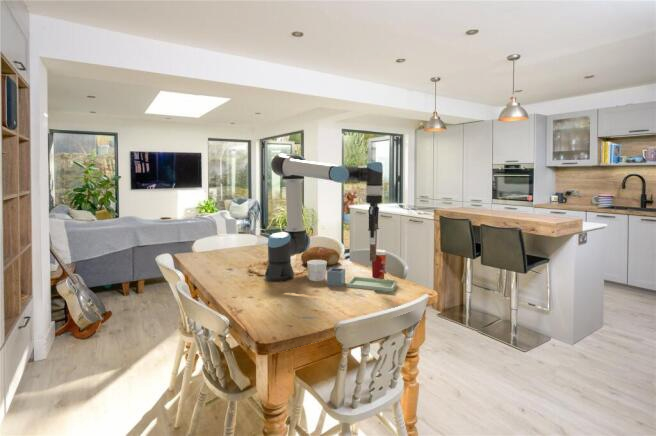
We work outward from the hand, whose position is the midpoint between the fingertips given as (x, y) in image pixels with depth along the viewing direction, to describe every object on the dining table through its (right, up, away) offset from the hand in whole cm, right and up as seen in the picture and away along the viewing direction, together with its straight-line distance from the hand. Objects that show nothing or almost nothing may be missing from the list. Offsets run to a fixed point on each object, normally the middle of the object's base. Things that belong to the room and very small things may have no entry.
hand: (373, 243), depth 189 cm
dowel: (0, -8, +1) cm, 9 cm away
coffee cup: (+5, -20, +18) cm, 27 cm away
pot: (-18, -21, +4) cm, 28 cm away
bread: (-26, -16, +51) cm, 60 cm away
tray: (0, -21, +3) cm, 22 cm away
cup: (-28, -20, +13) cm, 36 cm away
